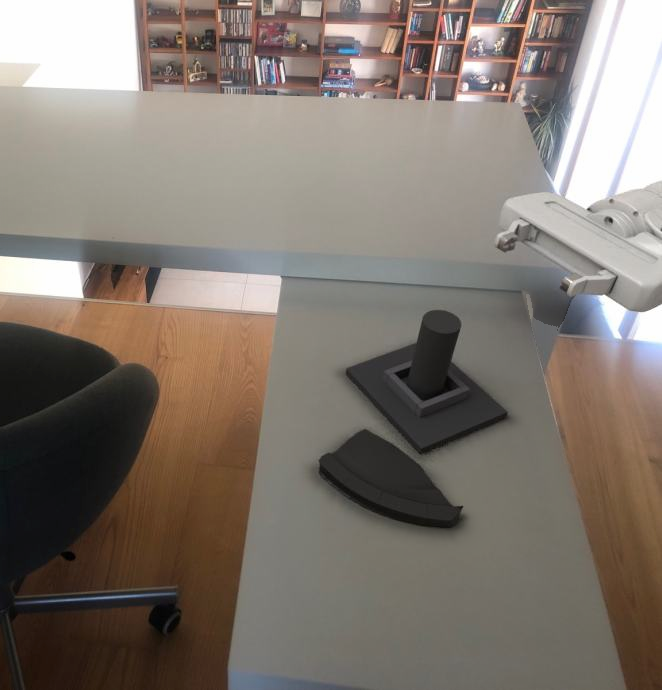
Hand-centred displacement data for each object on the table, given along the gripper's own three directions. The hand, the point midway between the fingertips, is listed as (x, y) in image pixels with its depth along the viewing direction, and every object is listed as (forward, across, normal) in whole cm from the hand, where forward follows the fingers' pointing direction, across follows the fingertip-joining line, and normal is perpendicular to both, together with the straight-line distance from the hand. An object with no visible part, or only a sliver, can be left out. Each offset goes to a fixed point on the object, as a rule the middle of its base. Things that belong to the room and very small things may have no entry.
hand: (531, 264), depth 75 cm
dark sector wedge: (+23, +8, +15) cm, 29 cm away
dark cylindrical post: (+11, 0, +14) cm, 18 cm away
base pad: (+11, 0, +15) cm, 19 cm away
